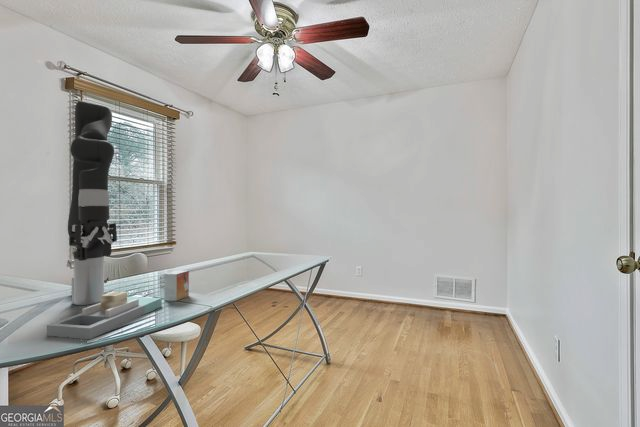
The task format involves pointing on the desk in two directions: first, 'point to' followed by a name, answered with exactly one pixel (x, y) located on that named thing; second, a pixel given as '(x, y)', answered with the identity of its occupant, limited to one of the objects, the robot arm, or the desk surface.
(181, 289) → the small box
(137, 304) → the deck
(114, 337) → the desk surface
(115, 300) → the block
